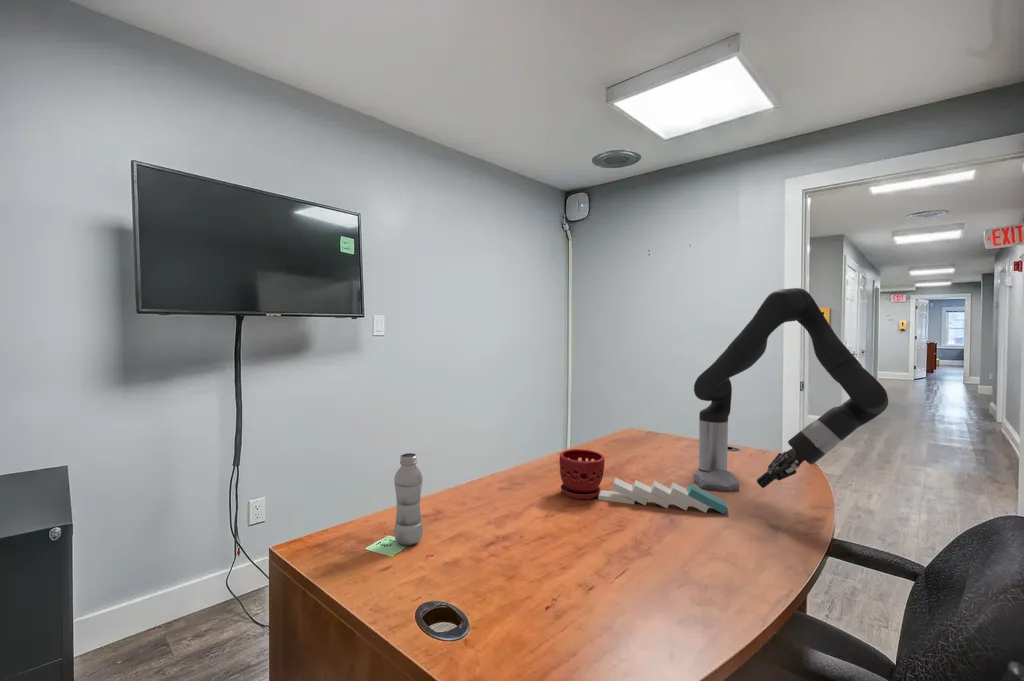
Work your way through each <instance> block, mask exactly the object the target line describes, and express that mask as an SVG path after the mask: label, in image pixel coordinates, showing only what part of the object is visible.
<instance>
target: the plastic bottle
mask: <svg viewBox="0 0 1024 681" xmlns="http://www.w3.org/2000/svg"><path fill="white" fill-rule="evenodd" d="M399 458H400V460H399V465H400V467H399V468H398V469H397V471H396V472H395V474H394V477H393V478H394V479H393V480H394V492H395V497H396V514H395V515H396V517H395V523H394V529H393V530H394V531H393V534H394V535H393V536H394V539H395V541H396V543H397V544H399V545H401V546H411V545H416V544H417V543H419V542H420V541H421V539H423V538H422V537H423V532H424V528H423V526H424V525H423V521H422V514H421V513H422V512H421V497H422V496H421V494H422V486H423V474H422V472H421V470H420V469H419V467H417V464H418V459H417V454H416V453H411V452H407V453H402V454H400V457H399Z"/></svg>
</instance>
